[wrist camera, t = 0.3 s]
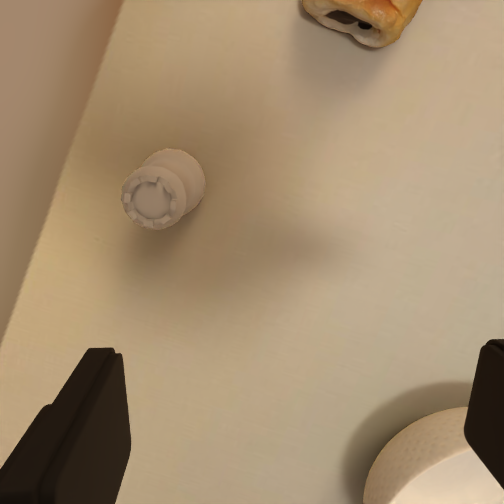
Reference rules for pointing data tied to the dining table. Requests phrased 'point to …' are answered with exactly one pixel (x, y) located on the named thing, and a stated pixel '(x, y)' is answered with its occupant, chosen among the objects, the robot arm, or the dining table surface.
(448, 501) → the cereal bowl
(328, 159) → the dining table surface
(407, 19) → the pastry
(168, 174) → the rook chess piece
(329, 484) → the dining table surface
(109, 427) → the robot arm
